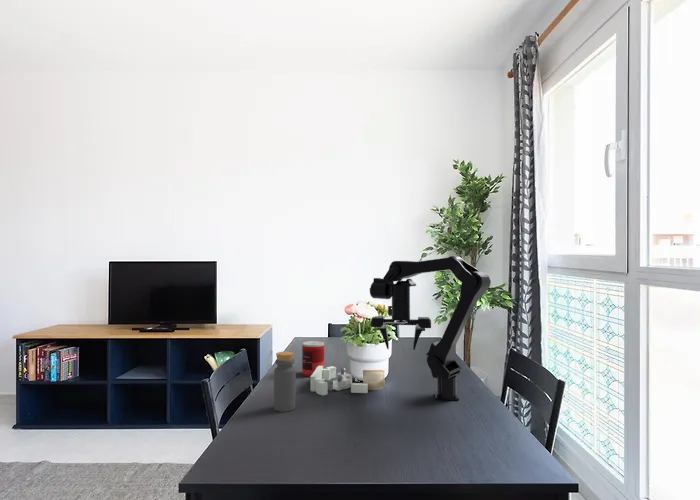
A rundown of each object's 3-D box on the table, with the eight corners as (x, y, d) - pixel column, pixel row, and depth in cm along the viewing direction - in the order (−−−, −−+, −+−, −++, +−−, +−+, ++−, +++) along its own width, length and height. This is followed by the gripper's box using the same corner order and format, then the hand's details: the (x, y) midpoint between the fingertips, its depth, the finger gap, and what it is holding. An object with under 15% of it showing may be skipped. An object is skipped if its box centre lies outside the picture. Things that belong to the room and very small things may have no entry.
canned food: (325, 371, 160) (325, 341, 161) (322, 377, 152) (322, 345, 153) (304, 371, 161) (304, 340, 161) (300, 376, 153) (300, 344, 153)
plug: (384, 390, 138) (384, 374, 138) (361, 390, 138) (361, 373, 138) (384, 384, 145) (384, 368, 145) (363, 383, 145) (363, 368, 145)
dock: (366, 397, 131) (366, 381, 131) (308, 395, 133) (308, 379, 133) (370, 377, 152) (370, 364, 153) (320, 375, 154) (320, 362, 154)
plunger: (352, 382, 145) (352, 370, 145) (346, 383, 144) (346, 371, 144) (342, 379, 149) (342, 367, 149) (336, 380, 148) (336, 368, 148)
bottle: (291, 412, 118) (291, 355, 118) (270, 411, 119) (270, 354, 119) (298, 405, 123) (298, 351, 124) (278, 404, 125) (278, 350, 125)
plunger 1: (345, 385, 141) (345, 372, 141) (350, 387, 139) (350, 374, 140) (332, 388, 138) (332, 375, 138) (337, 390, 136) (337, 377, 136)
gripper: (429, 298, 148) (429, 345, 148) (373, 297, 151) (373, 343, 150) (431, 301, 137) (431, 352, 137) (370, 300, 139) (370, 350, 139)
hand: (400, 349), depth 141 cm, fingers open, 8 cm apart
